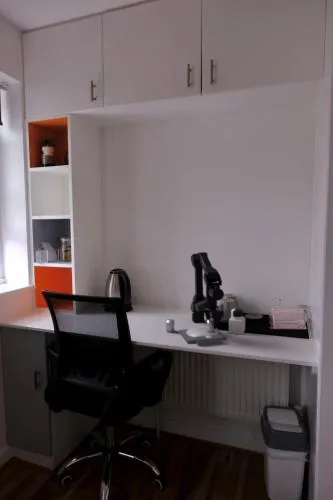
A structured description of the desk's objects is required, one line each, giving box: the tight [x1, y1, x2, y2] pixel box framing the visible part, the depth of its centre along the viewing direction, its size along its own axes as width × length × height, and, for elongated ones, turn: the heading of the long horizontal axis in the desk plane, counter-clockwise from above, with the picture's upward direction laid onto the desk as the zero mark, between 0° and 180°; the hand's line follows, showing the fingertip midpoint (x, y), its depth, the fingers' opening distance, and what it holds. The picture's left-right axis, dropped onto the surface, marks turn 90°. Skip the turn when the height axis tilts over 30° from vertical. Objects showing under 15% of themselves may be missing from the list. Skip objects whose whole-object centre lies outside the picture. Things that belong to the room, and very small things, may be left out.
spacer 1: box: [165, 318, 175, 334], centre depth 173 cm, size 4×4×6 cm
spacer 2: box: [206, 318, 216, 333], centre depth 166 cm, size 4×4×6 cm
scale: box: [178, 326, 228, 347], centre depth 163 cm, size 20×20×3 cm
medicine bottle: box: [228, 308, 246, 335], centre depth 171 cm, size 7×7×12 cm
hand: (211, 325), depth 166 cm, fingers open, 9 cm apart
